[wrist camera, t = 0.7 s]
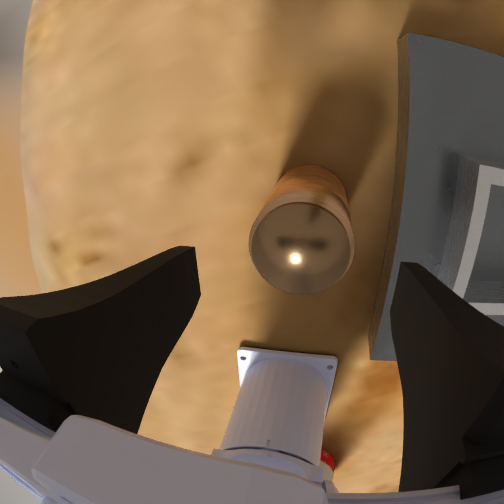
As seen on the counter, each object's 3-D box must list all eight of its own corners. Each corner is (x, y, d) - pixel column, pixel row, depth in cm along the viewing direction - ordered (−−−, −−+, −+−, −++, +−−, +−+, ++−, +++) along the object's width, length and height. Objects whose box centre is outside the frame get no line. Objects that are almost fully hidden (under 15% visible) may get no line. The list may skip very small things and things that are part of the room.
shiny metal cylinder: (343, 237, 19) (348, 302, 13) (273, 232, 20) (248, 293, 14) (348, 167, 17) (360, 203, 11) (272, 163, 18) (244, 197, 12)
